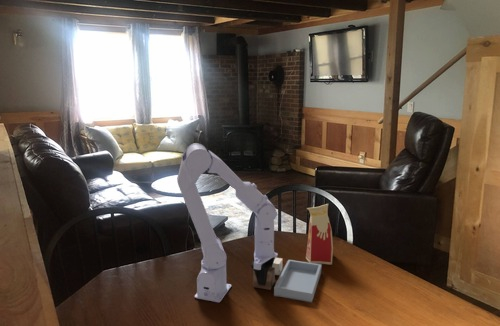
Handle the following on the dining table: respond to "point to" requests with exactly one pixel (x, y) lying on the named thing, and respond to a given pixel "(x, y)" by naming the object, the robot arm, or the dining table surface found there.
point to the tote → (298, 281)
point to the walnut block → (269, 280)
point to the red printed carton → (319, 236)
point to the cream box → (277, 265)
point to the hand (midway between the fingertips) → (264, 280)
